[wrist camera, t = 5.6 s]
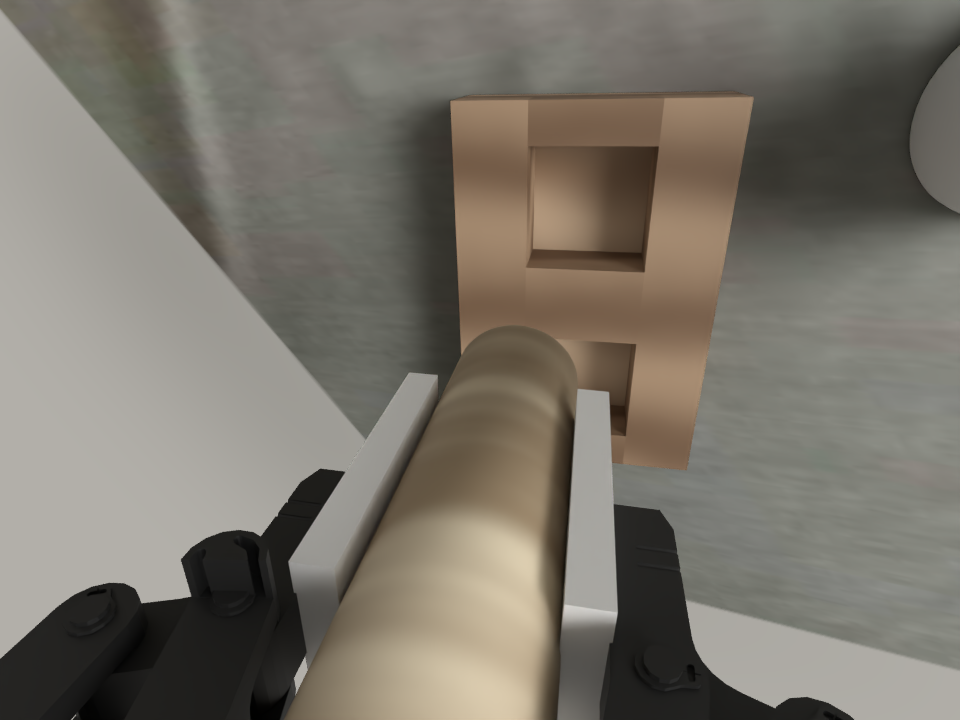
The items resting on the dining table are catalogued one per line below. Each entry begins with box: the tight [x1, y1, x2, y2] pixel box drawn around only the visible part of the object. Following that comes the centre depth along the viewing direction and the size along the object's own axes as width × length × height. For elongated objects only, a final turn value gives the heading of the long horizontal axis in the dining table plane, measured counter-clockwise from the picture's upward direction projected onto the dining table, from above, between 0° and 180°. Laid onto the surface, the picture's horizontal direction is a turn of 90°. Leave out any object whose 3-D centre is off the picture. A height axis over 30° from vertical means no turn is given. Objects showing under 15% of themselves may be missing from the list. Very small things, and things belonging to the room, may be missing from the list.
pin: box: [284, 325, 578, 720], centre depth 10 cm, size 4×4×16 cm
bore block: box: [450, 91, 754, 470], centre depth 29 cm, size 18×12×4 cm, turn 2°
